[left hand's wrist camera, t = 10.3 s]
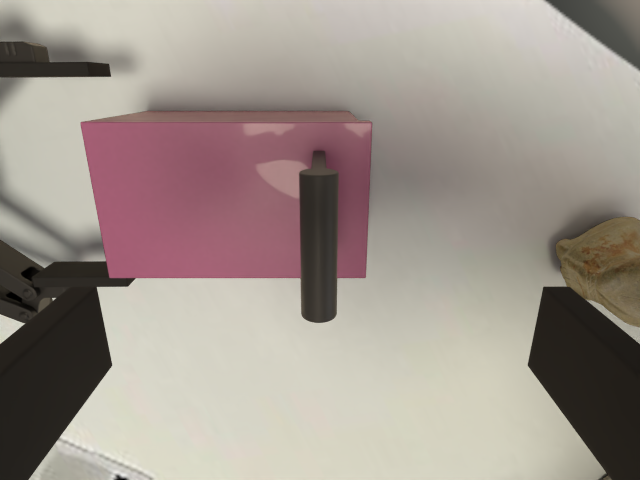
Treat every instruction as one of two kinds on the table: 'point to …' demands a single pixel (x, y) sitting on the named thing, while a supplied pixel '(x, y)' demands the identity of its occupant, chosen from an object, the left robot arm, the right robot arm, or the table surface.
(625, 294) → the sculpture
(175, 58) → the table surface
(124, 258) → the lid
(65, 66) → the right robot arm
